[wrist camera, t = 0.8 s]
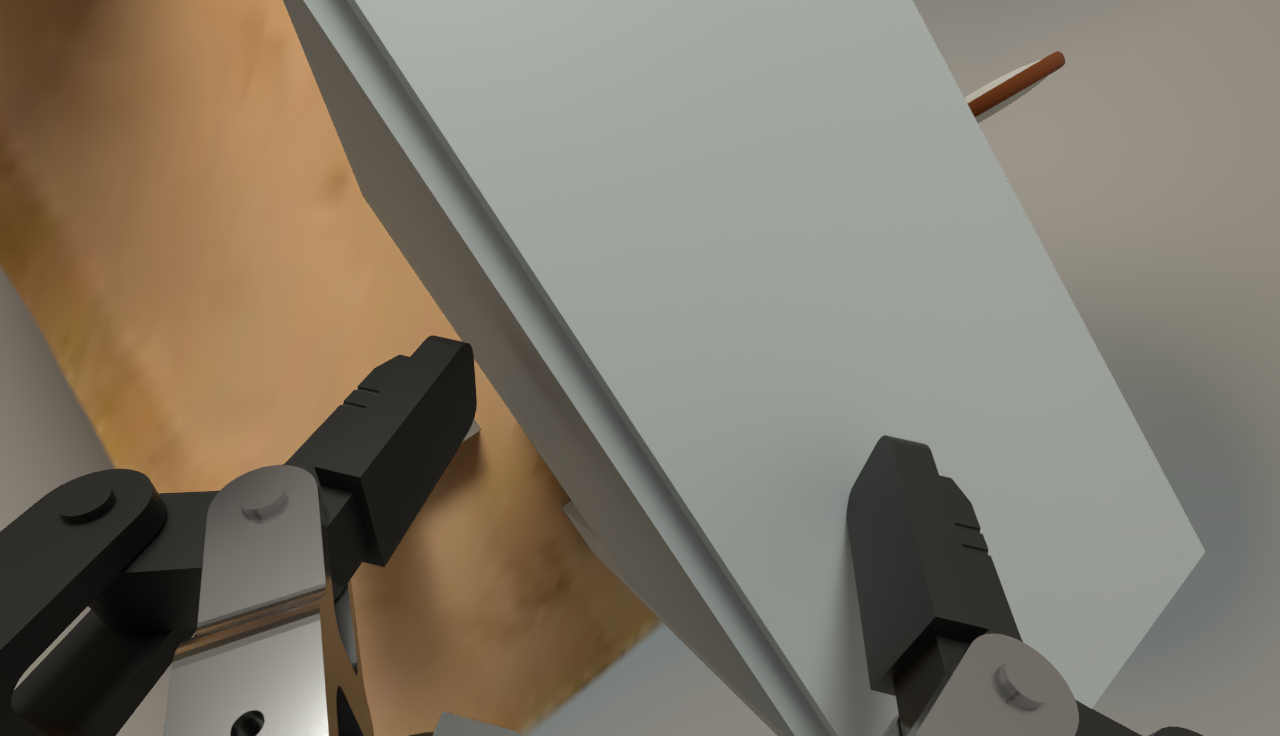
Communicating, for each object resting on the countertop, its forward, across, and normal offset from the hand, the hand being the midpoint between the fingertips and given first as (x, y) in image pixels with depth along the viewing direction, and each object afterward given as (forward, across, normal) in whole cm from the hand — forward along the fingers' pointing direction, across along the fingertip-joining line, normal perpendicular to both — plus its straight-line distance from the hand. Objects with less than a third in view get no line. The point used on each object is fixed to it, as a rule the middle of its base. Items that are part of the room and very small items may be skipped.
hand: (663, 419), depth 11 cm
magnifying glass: (+41, -9, +9) cm, 43 cm away
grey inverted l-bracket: (+22, +7, +18) cm, 29 cm away
